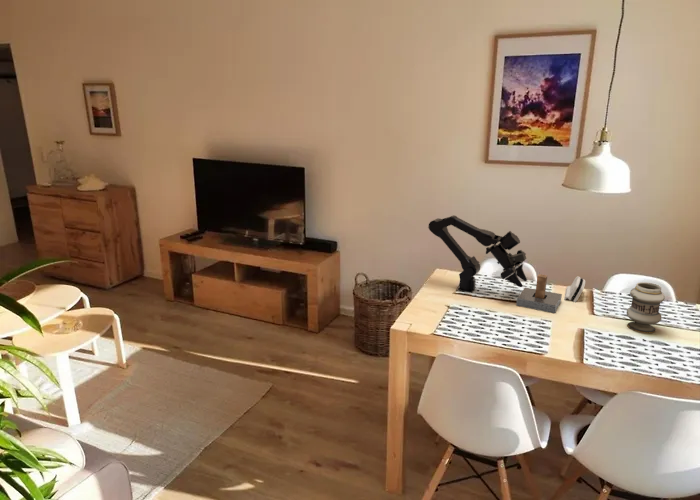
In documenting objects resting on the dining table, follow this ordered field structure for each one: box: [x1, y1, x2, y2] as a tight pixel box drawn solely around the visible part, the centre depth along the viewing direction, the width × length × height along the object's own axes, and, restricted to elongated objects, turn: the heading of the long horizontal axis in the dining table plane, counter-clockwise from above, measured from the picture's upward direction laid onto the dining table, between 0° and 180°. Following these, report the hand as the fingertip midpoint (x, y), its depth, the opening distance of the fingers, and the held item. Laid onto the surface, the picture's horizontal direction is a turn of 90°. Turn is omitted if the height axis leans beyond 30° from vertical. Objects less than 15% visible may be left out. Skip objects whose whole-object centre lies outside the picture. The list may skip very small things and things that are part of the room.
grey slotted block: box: [515, 287, 563, 314], centre depth 225 cm, size 16×16×4 cm
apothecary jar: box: [626, 281, 666, 334], centre depth 199 cm, size 12×12×18 cm
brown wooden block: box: [535, 273, 548, 299], centre depth 224 cm, size 4×4×13 cm
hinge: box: [563, 275, 586, 303], centre depth 234 cm, size 17×5×10 cm, turn 155°
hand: (524, 283), depth 227 cm, fingers open, 9 cm apart
